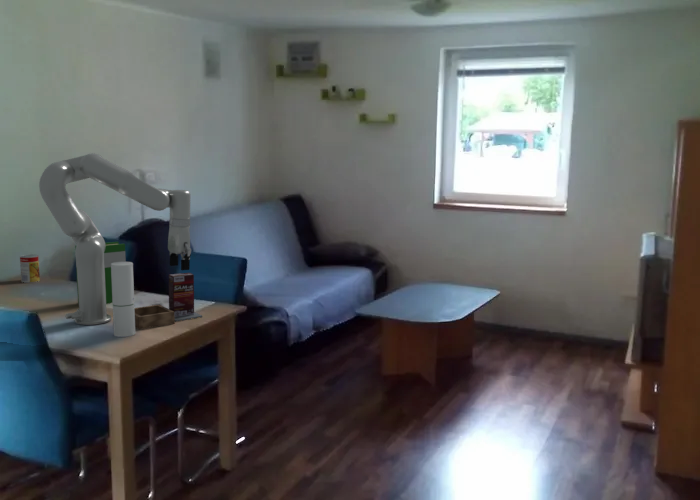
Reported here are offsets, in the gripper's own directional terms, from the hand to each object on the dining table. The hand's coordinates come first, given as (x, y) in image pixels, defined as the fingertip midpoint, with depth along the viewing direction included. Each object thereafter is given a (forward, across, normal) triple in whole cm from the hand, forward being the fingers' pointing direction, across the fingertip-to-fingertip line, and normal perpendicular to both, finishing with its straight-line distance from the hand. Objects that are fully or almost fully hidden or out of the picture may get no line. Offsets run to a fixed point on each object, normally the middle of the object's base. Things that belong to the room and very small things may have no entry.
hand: (179, 267), depth 260 cm
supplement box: (+19, +1, +1) cm, 19 cm away
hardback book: (+20, -39, -15) cm, 47 cm away
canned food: (+22, -98, -28) cm, 105 cm away
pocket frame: (+19, +2, -12) cm, 23 cm away
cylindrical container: (+20, +10, -25) cm, 34 cm away
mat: (+19, 0, +1) cm, 19 cm away
